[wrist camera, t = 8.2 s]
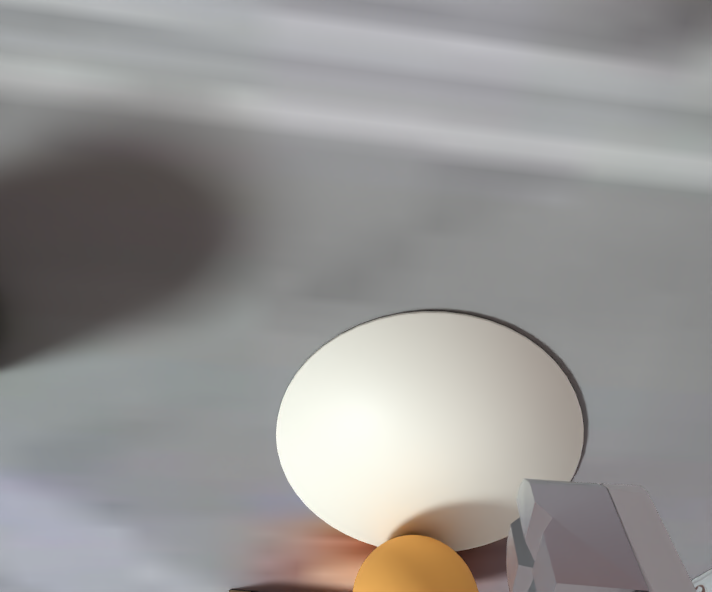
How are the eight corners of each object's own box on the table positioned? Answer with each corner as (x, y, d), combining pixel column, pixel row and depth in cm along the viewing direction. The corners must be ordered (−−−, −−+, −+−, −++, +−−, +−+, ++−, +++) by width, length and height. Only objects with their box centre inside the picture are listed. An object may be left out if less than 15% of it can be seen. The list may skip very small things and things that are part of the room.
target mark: (275, 299, 24) (274, 301, 24) (616, 323, 24) (617, 326, 23) (277, 538, 30) (277, 541, 30) (549, 560, 30) (550, 563, 29)
